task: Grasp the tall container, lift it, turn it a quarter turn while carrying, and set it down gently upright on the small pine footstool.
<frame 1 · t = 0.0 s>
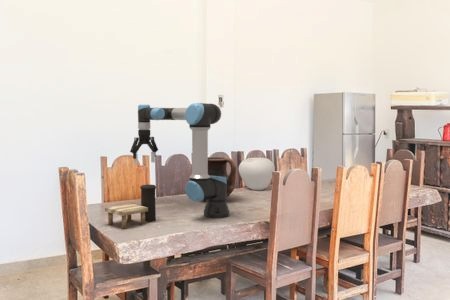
hand: (144, 163, 276), 28 cm above the table, fingers open, 13 cm apart
container: (148, 220, 242), on the table
vase: (256, 189, 348), on the table
jug: (214, 200, 302), on the table
footstool: (126, 224, 234), on the table
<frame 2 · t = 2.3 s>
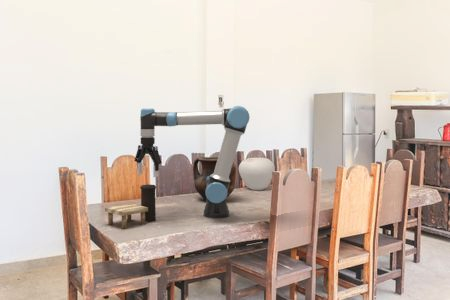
hand: (147, 175, 240), 25 cm above the table, fingers open, 13 cm apart
nothing on the table moved.
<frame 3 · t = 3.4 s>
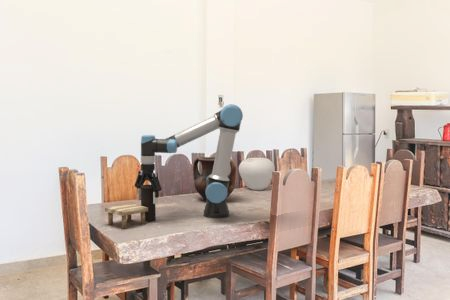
hand: (147, 201, 242), 11 cm above the table, fingers open, 13 cm apart
nothing on the table moved.
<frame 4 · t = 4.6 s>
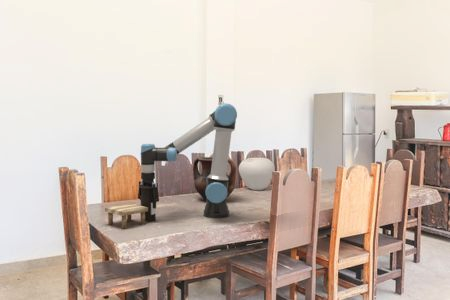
hand: (148, 212, 242), 4 cm above the table, fingers closed on container, 8 cm apart
container: (148, 220, 242), on the table, touching gripper
everything else where it was.
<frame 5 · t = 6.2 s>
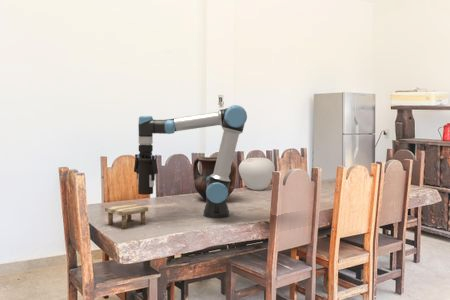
hand: (145, 185, 240), 19 cm above the table, fingers closed on container, 8 cm apart
container: (145, 193, 240), point 15 cm above the table, touching gripper
everything else where it was.
when the fingers open (15 cm above the table, at t = 8.1 s): container drops 1 cm, resting on footstool.
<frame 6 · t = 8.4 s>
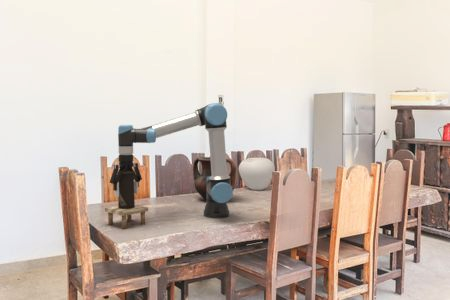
hand: (126, 195, 233), 16 cm above the table, fingers open, 11 cm apart
container: (126, 207, 233), point 9 cm above the table, touching footstool
everything else where it was.
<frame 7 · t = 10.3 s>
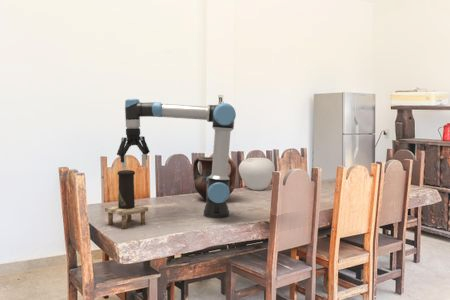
hand: (134, 167, 237), 30 cm above the table, fingers open, 13 cm apart
nothing on the table moved.
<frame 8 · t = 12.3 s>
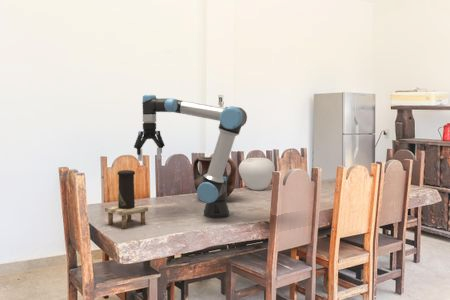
hand: (149, 159, 250), 33 cm above the table, fingers open, 13 cm apart
nothing on the table moved.
at the end: container inside the target area on the footstool (0.0 cm from its centre), point 8.8 cm above the footstool's base; container tilted 0°; the gripper is holding nothing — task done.
